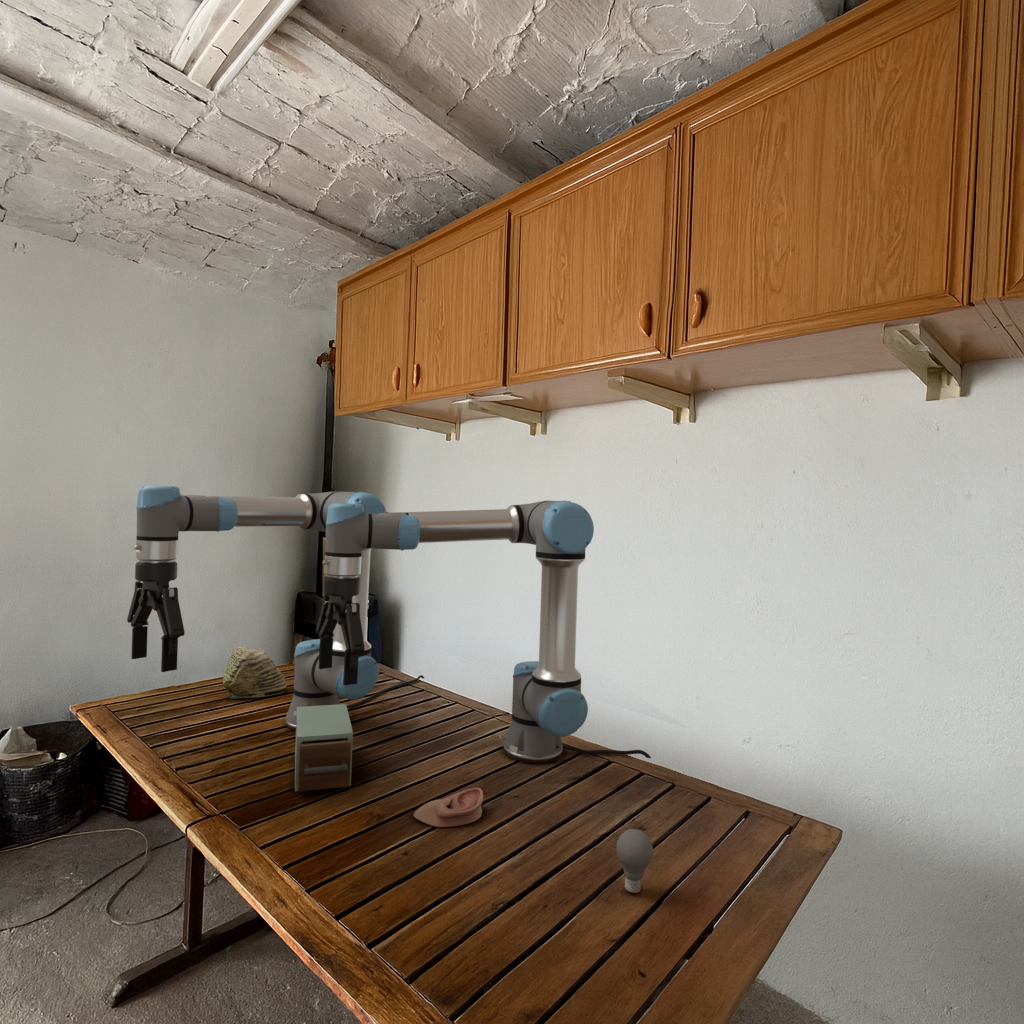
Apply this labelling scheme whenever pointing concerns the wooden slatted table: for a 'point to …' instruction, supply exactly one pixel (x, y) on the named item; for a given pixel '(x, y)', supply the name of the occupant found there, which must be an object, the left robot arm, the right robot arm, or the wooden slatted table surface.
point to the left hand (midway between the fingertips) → (153, 664)
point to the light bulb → (634, 857)
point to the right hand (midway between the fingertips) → (337, 676)
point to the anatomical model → (452, 809)
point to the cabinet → (321, 728)
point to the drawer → (324, 764)
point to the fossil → (252, 674)
